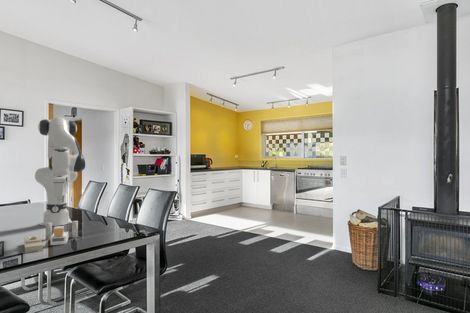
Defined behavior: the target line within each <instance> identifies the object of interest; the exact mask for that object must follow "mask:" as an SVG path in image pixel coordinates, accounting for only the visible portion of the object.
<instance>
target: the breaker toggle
mask: <svg viewBox="0 0 470 313" xmlns="http://www.w3.org/2000/svg"><path fill="white" fill-rule="evenodd" d="M64 226H65V225H59V226H53V227H54V228H53V234H54V236H63V232H65V230H64Z"/></svg>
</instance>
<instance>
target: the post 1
mask: <svg viewBox="0 0 470 313" xmlns="http://www.w3.org/2000/svg"><path fill="white" fill-rule="evenodd" d="M52 235H53V226H52V223H46V226H45V240H46V241H49V240H50V241H51V236H52Z"/></svg>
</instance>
